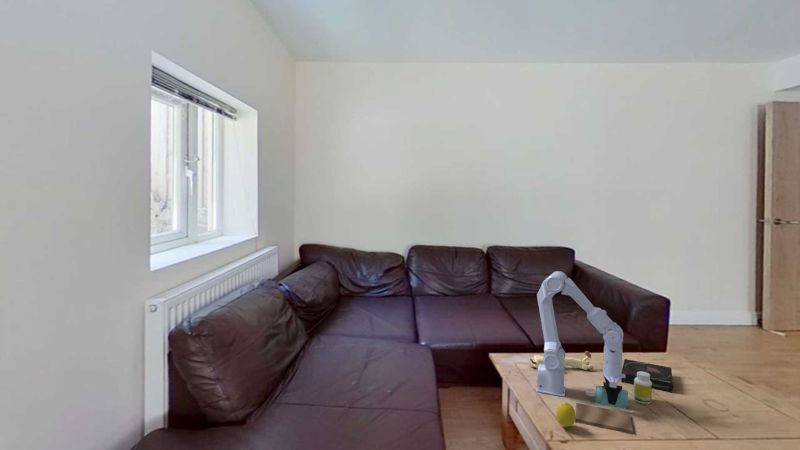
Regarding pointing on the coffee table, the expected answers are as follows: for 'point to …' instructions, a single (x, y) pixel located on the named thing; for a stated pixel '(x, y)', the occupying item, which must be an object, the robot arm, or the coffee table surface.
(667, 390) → the portable cd player
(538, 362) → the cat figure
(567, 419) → the lemon
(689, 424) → the coffee table surface
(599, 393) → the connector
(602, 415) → the serving board
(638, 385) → the supplement bottle
